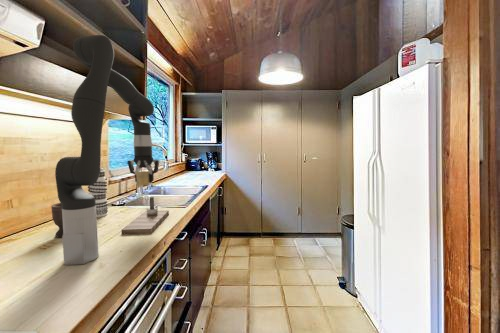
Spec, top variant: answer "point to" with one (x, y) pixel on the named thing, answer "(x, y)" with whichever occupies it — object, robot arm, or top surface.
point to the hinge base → (146, 220)
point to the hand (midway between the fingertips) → (144, 182)
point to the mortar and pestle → (58, 218)
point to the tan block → (143, 178)
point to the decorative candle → (100, 194)
